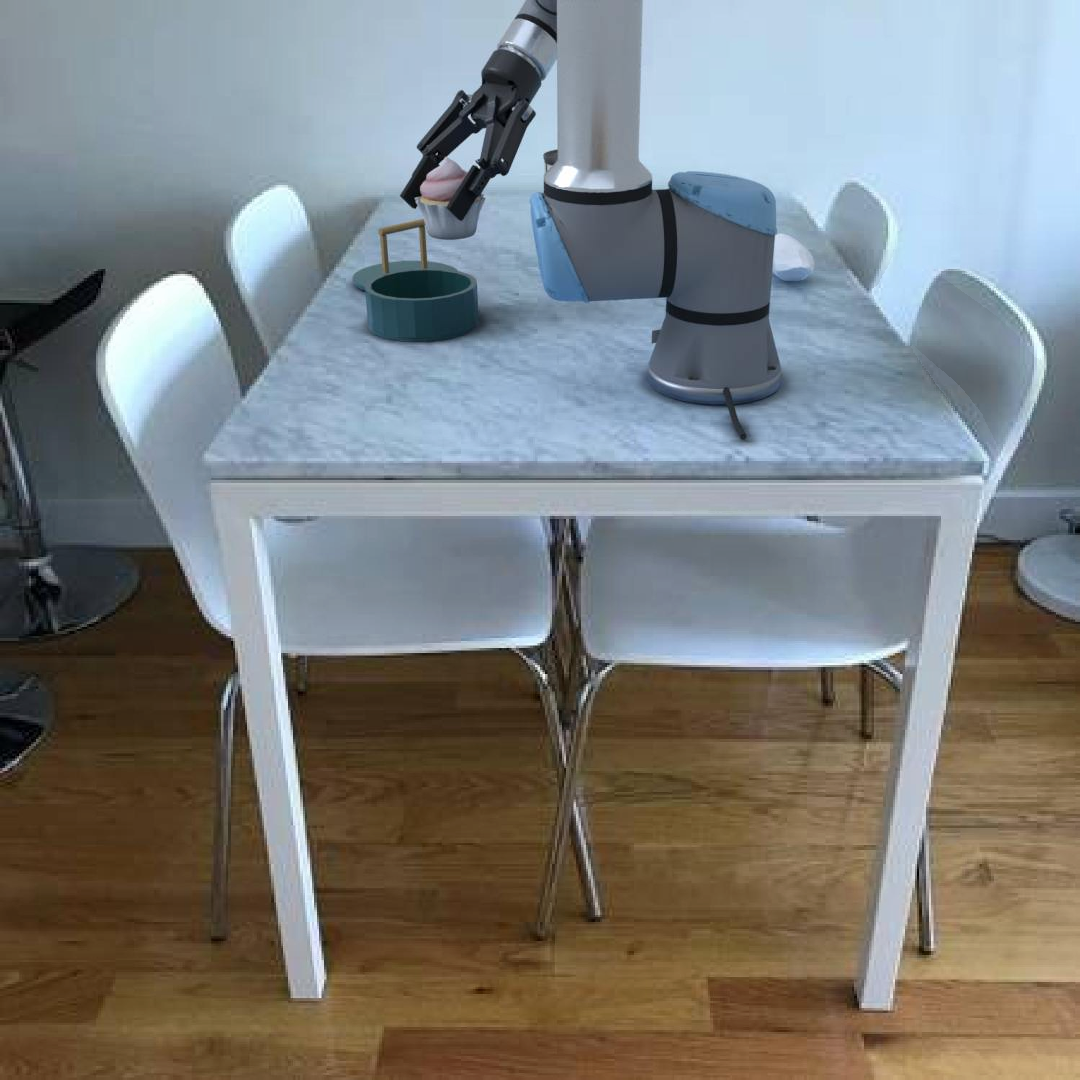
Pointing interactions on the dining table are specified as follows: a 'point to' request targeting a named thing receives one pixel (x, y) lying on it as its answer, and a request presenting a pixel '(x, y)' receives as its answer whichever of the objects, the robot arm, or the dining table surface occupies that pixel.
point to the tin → (422, 304)
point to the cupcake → (446, 203)
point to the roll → (791, 259)
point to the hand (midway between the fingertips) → (430, 208)
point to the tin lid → (387, 267)
